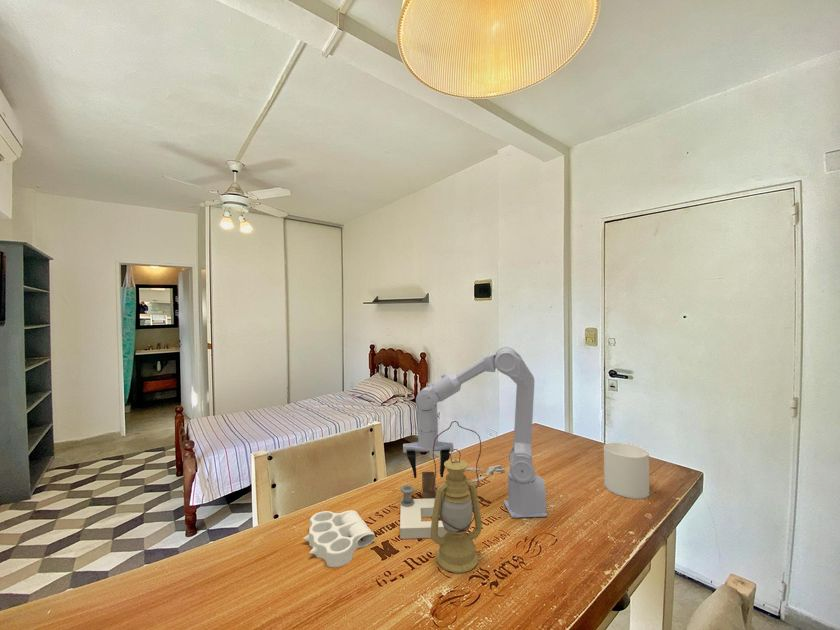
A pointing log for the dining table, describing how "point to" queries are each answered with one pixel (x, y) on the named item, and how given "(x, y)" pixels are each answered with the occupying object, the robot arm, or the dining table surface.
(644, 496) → the cup
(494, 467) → the pliers
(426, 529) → the slotted board
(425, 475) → the block
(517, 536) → the dining table surface
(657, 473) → the dining table surface
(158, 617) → the dining table surface
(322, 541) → the white holed flat piece
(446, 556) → the lantern
